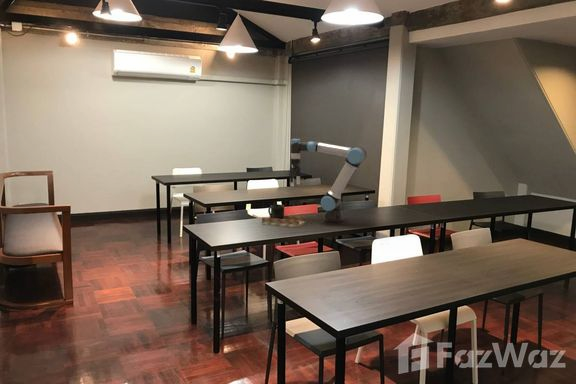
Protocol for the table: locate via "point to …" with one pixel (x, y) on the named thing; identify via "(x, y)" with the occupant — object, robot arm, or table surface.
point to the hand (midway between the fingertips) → (295, 185)
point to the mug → (277, 211)
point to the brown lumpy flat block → (285, 221)
